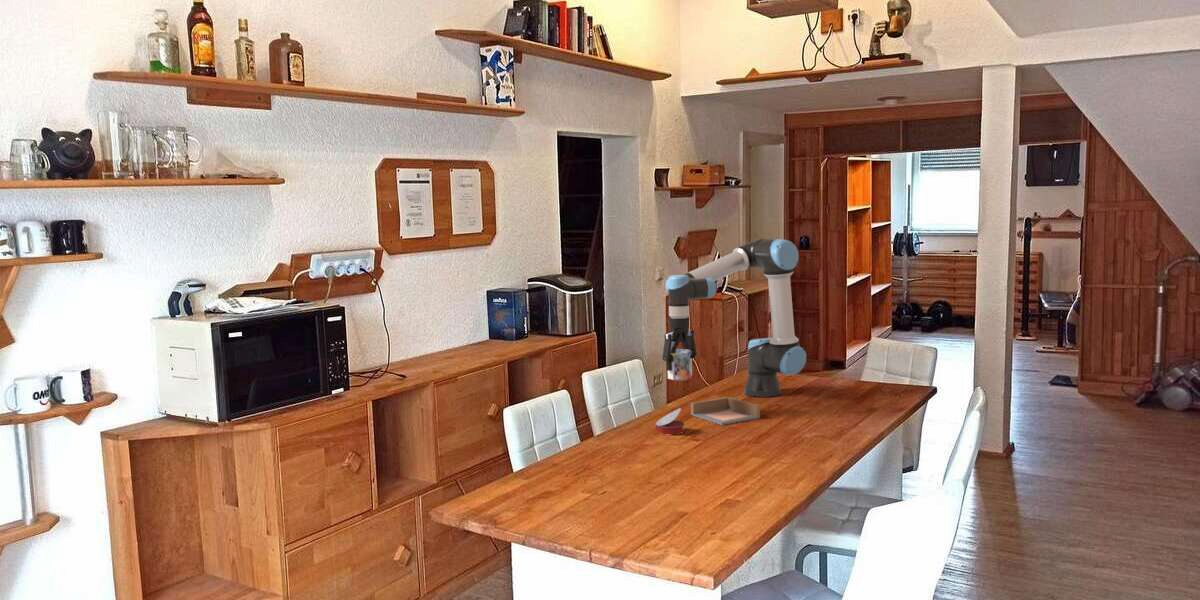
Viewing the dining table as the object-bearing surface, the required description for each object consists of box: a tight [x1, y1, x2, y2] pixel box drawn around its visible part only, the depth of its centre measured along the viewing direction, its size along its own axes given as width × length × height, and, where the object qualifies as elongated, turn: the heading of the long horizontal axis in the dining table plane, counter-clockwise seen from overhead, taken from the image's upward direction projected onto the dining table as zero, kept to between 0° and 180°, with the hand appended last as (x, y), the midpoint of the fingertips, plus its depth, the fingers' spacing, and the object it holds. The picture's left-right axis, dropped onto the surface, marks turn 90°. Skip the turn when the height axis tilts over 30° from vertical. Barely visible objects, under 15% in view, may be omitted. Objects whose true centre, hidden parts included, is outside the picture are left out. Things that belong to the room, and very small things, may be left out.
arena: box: [690, 396, 761, 426], centre depth 339 cm, size 18×18×5 cm
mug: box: [670, 348, 693, 382], centre depth 339 cm, size 12×9×11 cm
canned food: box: [655, 407, 685, 435], centre depth 319 cm, size 11×10×10 cm
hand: (680, 377), depth 339 cm, fingers closed on mug, 9 cm apart
